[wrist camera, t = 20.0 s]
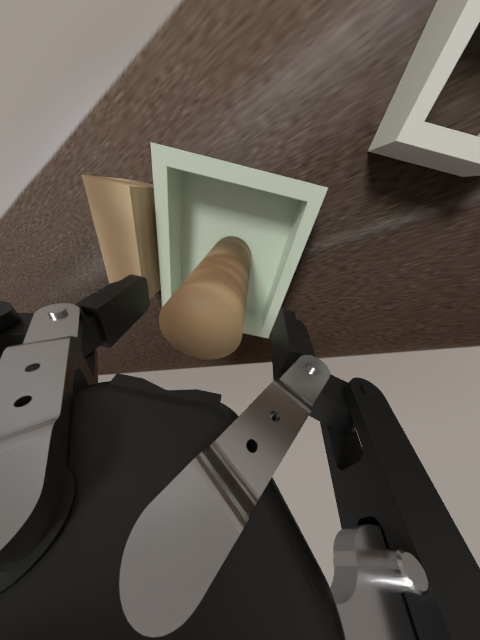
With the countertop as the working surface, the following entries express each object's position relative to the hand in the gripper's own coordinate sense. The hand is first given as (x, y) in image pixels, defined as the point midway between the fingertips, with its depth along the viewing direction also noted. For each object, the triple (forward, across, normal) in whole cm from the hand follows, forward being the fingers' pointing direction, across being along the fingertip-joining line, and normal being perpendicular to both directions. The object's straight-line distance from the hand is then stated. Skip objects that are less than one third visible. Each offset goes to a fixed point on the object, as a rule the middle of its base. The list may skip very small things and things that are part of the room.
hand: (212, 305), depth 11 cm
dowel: (+9, 0, 0) cm, 9 cm away
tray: (+11, 0, 0) cm, 11 cm away
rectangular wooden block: (+10, +8, 0) cm, 14 cm away
